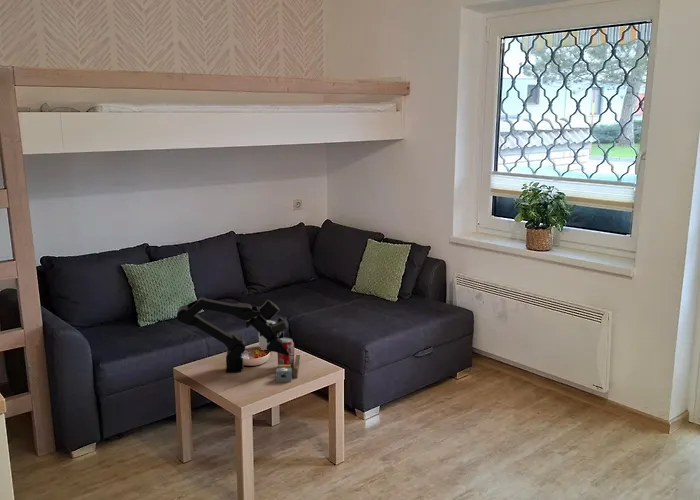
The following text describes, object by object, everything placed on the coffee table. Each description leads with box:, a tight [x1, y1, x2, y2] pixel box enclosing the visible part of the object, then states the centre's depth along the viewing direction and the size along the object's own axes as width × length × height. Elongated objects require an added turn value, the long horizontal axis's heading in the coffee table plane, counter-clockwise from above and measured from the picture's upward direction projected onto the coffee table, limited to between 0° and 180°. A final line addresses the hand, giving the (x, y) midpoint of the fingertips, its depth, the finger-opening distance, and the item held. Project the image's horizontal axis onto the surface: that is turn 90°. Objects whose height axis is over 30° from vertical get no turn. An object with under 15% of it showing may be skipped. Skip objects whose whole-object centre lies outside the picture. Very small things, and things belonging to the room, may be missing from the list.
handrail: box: [293, 354, 301, 379], centre depth 276 cm, size 2×15×4 cm, turn 1°
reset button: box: [278, 365, 292, 374], centre depth 270 cm, size 5×4×3 cm
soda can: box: [277, 337, 295, 368], centre depth 279 cm, size 7×7×12 cm
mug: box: [257, 319, 277, 349], centre depth 300 cm, size 8×12×12 cm
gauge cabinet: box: [275, 367, 293, 383], centre depth 267 cm, size 6×4×5 cm, turn 91°
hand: (289, 351), depth 279 cm, fingers closed on soda can, 7 cm apart
